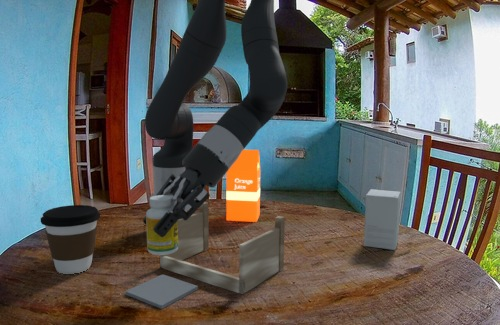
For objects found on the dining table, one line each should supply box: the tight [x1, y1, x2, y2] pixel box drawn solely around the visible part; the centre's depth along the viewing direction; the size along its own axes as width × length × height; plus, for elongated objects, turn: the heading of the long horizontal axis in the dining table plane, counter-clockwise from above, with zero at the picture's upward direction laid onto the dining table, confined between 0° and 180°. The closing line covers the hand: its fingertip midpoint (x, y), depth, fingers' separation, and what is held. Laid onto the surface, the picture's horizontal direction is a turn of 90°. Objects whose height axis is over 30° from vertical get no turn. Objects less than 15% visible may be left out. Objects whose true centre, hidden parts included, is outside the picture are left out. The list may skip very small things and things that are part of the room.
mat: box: [124, 273, 199, 310], centre depth 76 cm, size 9×9×1 cm
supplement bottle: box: [145, 195, 178, 256], centre depth 74 cm, size 5×5×10 cm
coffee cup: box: [40, 204, 101, 275], centre depth 85 cm, size 11×11×12 cm
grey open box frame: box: [159, 201, 286, 295], centre depth 86 cm, size 21×14×11 cm, turn 56°
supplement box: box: [363, 188, 402, 251], centre depth 102 cm, size 7×7×13 cm
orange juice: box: [225, 149, 261, 223], centre depth 123 cm, size 8×9×20 cm
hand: (152, 229), depth 73 cm, fingers closed on supplement bottle, 5 cm apart
